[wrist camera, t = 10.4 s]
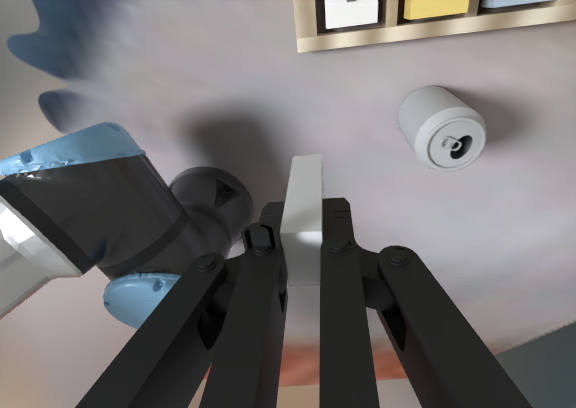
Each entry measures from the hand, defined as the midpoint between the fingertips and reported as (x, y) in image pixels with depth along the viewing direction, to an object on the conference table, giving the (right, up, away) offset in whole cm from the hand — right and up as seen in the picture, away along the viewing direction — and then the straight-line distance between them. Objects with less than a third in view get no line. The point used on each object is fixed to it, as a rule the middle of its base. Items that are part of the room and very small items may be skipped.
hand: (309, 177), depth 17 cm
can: (+18, +11, +26) cm, 34 cm away
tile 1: (+6, +22, +19) cm, 30 cm away
